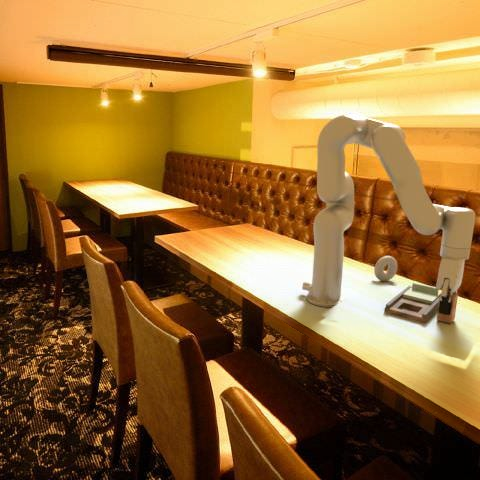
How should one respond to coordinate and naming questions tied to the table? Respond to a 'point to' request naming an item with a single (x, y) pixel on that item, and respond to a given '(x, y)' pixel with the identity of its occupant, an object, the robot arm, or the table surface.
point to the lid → (422, 293)
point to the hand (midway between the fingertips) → (446, 310)
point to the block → (453, 310)
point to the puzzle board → (411, 308)
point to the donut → (390, 271)
